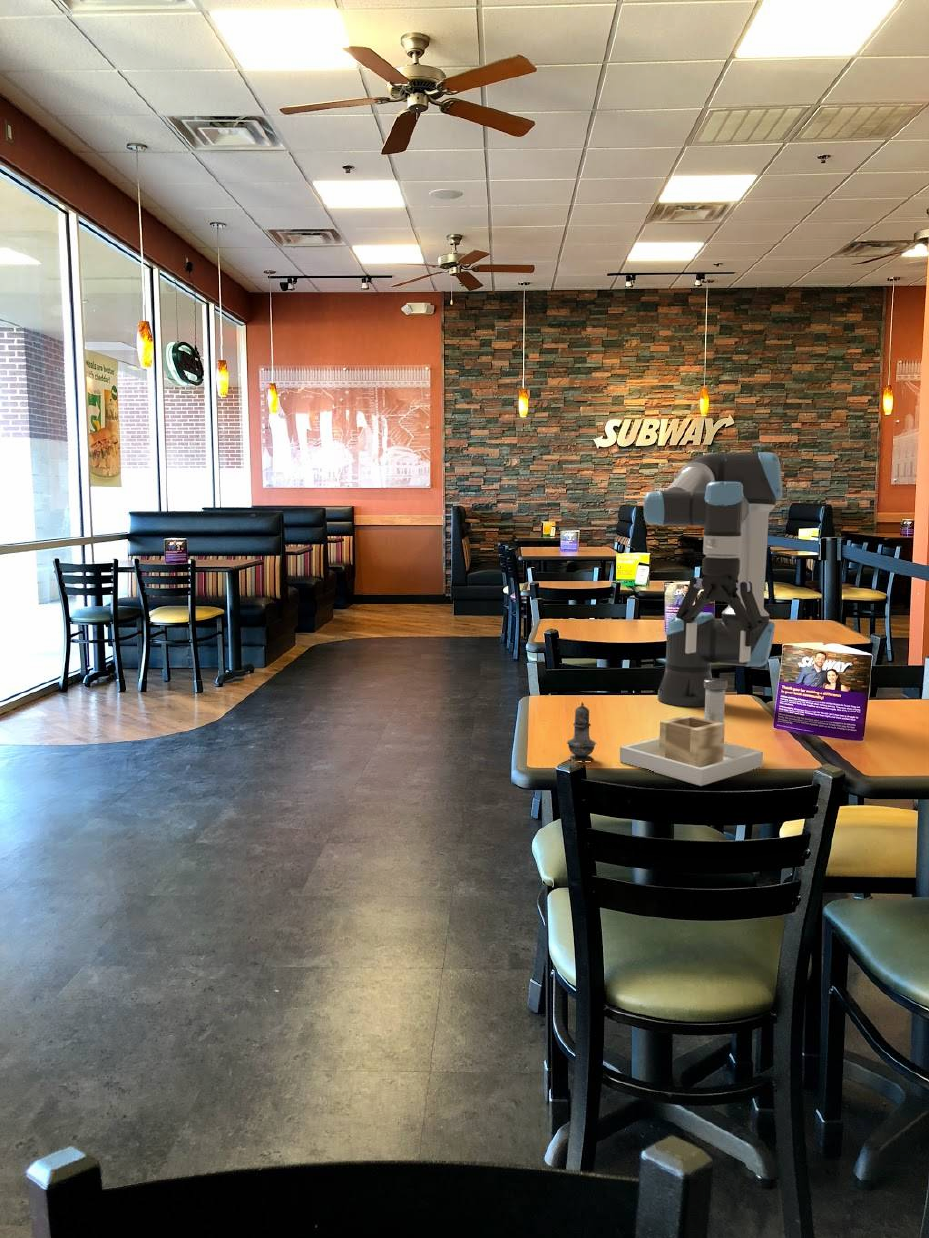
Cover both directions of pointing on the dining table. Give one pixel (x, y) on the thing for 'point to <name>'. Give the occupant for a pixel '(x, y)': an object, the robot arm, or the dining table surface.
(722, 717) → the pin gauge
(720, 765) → the tray
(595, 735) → the dining table surface
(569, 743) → the salt shaker
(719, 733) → the wooden box
